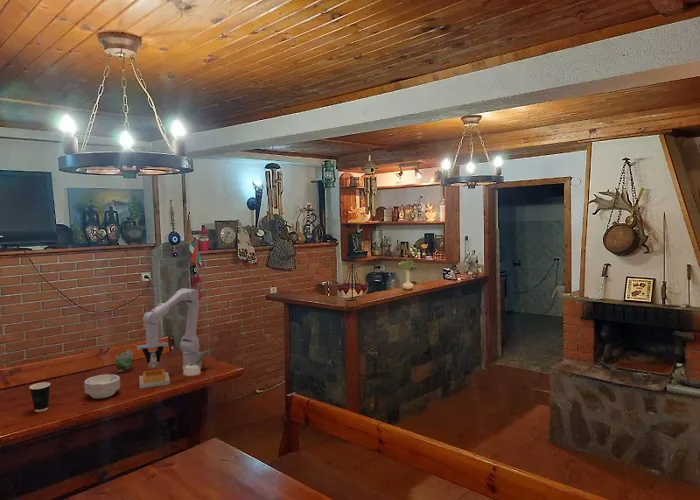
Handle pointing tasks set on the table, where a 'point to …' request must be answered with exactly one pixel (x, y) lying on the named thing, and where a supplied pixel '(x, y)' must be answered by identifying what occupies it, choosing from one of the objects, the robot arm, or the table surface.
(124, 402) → the table surface
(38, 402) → the dixie cup
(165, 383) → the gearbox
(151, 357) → the spout can
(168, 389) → the table surface
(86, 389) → the paper bowls
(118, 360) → the food container
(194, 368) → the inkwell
